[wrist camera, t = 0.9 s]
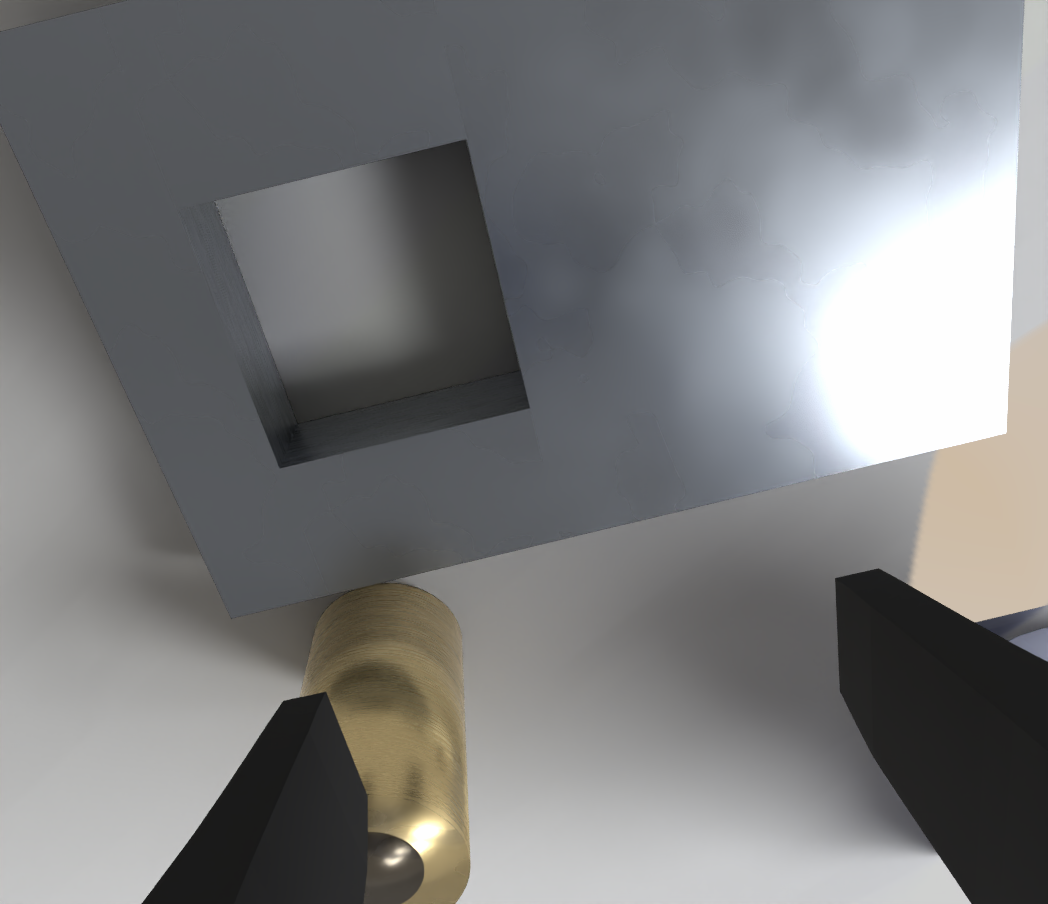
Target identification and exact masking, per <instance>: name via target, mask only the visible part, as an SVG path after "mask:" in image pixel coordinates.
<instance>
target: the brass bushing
mask: <svg viewBox="0 0 1048 904" xmlns="http://www.w3.org/2000/svg"><path fill="white" fill-rule="evenodd" d="M322 692H327V695H328V697H329V700H330V702H331V705H332V708H333V710H334V713H335V715H336V718H337V720H338V723H339V725H340V728H341V730H342V733H343V735H344V738H345V740H346V743H347V745H348V748H349V750H350V753H351V755H352V758H353V760H354V763H355V765H356V768H357V770H358V773H359V775H360V778H361V780H362V783H363V785H364V788H365V790H366V793H367V796H368V859H367V877H366V885H365V894H364V902H363V904H455V903H456V902H457V901H458V899H459V898H460V896H461V895H462V893H463V891H464V889H465V887H466V885H467V882H468V879H469V875H470V844H469V817H468V790H467V763H466V736H465V709H464V682H463V655H462V635H461V631H460V627H459V625H458V622H457V620H456V618H455V617H454V615H453V613H452V612H451V611H450V610H449V609H448V607H447V606H446V605H445V604H443V603H442V602H441V601H440V600H439V599H437V598H436V597H434V596H433V595H431V594H429V593H427V592H426V591H423V590H421V589H418V588H415V587H412V586H408V585H402V584H394V583H382V584H374V585H370V586H365V587H361V588H357V589H355V590H352V591H350V592H348V593H346V594H344V595H343V596H341V597H339V598H338V599H337V600H336V601H334V602H333V603H332V604H331V605H330V606H329V607H328V608H327V609H326V610H325V612H324V613H323V614H322V616H321V617H320V619H319V621H318V623H317V626H316V629H315V632H314V636H313V640H312V645H311V649H310V654H309V658H308V663H307V667H306V671H305V676H304V680H303V685H302V689H301V694H300V697H304V696H308V695H313V694H317V693H322Z"/></svg>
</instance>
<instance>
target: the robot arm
mask: <svg viewBox="0 0 1048 904" xmlns="http://www.w3.org/2000/svg"><path fill="white" fill-rule="evenodd" d="M835 584H836V608H837V632H838V655H839V679H840V692H841V694H842V696H843V698H844V700H845V702H846V704H847V706H848V708H849V710H850V712H851V714H852V716H853V718H854V720H855V722H856V725H857V727H858V728H859V730H860V732H861V734H862V736H863V738H864V740H865V742H866V744H867V746H868V748H869V750H870V751H871V753H872V755H873V757H874V759H875V760H876V762H877V763H878V765H879V766H880V768H881V769H882V771H883V773H884V774H885V776H886V777H887V779H888V780H889V782H890V783H891V785H892V786H893V788H894V789H895V791H896V792H897V794H898V795H899V797H900V798H901V800H902V801H903V803H904V804H905V806H906V807H907V809H908V810H909V812H910V813H911V815H912V816H913V818H914V819H915V821H916V822H917V823H918V825H919V826H920V828H921V829H922V831H923V832H924V834H925V835H926V837H927V838H928V840H929V841H930V843H931V844H932V846H933V847H934V849H935V850H936V852H937V853H938V855H939V856H940V858H941V859H942V861H943V862H944V864H945V865H946V866H947V868H948V869H949V871H950V872H951V874H952V875H953V877H954V878H955V880H956V881H957V883H958V884H959V886H960V887H961V889H962V890H963V892H964V893H965V895H966V896H967V898H968V899H969V901H970V902H971V904H1048V628H1042V629H1039V630H1036V631H1033V632H1030V633H1026V634H1023V635H1020V636H1018V637H1016V638H1014V639H1011V640H1009V641H1007V640H1005V639H1004V638H1002V637H1004V636H1005V635H1006V634H1008V633H1009V632H1011V631H1012V630H1014V629H1015V628H1016V627H1018V626H1020V625H1021V624H1023V623H1024V622H1025V621H1027V620H1028V619H1030V618H1031V617H1032V616H1033V615H1034V614H1035V613H1037V612H1038V611H1039V610H1041V609H1042V608H1043V607H1045V606H1042V607H1038V608H1034V609H1030V610H1025V611H1021V612H1017V613H1013V614H1008V615H1004V616H1000V617H996V618H992V619H987V620H983V621H979V622H975V623H974V622H972V621H971V620H969V619H967V618H965V617H964V616H962V615H960V614H958V613H957V612H955V611H953V610H951V609H950V608H948V607H946V606H944V605H942V604H941V603H939V602H937V601H935V600H934V599H932V598H930V597H928V596H927V595H925V594H923V593H921V592H920V591H918V590H916V589H914V588H913V587H911V586H909V585H908V584H906V583H904V582H902V581H900V580H899V579H897V578H895V577H893V576H891V575H890V574H888V573H886V572H884V571H882V570H880V569H874V570H870V571H865V572H861V573H856V574H852V575H848V576H843V577H839V578H835ZM367 859H368V796H367V793H366V790H365V788H364V785H363V783H362V780H361V778H360V775H359V773H358V770H357V768H356V765H355V763H354V760H353V758H352V755H351V753H350V750H349V748H348V745H347V743H346V740H345V738H344V735H343V733H342V730H341V728H340V725H339V723H338V720H337V718H336V715H335V713H334V710H333V708H332V705H331V702H330V700H329V697H328V695H327V692H322V693H317V694H313V695H308V696H304V697H299V698H295V699H290V700H286V701H283V702H282V704H281V705H280V707H279V708H278V710H277V711H276V713H275V714H274V716H273V717H272V718H271V720H270V721H269V723H268V724H267V726H266V727H265V729H264V730H263V732H262V733H261V735H260V736H259V738H258V739H257V741H256V742H255V744H254V746H253V747H252V749H251V750H250V752H249V753H248V755H247V756H246V758H245V759H244V761H243V762H242V764H241V765H240V767H239V768H238V770H237V771H236V773H235V774H234V776H233V777H232V779H231V780H230V782H229V783H228V785H227V786H226V788H225V789H224V791H223V792H222V794H221V795H220V797H219V798H218V800H217V801H216V802H215V804H214V805H213V807H212V808H211V810H210V811H209V813H208V814H207V816H206V817H205V818H204V820H203V821H202V823H201V824H200V826H199V827H198V829H197V830H196V832H195V833H194V834H193V836H192V837H191V839H190V840H189V841H188V843H187V844H186V845H185V847H184V848H183V849H182V851H181V852H180V853H179V855H178V856H177V857H176V859H175V860H174V861H173V863H172V864H171V865H170V867H169V868H168V869H167V871H166V872H165V873H164V875H163V876H162V877H161V879H160V880H159V881H158V883H157V884H156V885H155V887H154V888H153V889H152V891H151V892H150V893H149V895H148V896H147V897H146V899H145V900H144V901H143V903H142V904H363V902H364V894H365V885H366V877H367Z"/></svg>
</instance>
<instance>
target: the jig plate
mask: <svg viewBox="0 0 1048 904" xmlns="http://www.w3.org/2000/svg"><path fill="white" fill-rule="evenodd" d="M1023 22H1024V0H127V1H123V2H119V3H114V4H110V5H106V6H102V7H98V8H94V9H90V10H86V11H82V12H78V13H74V14H70V15H66V16H62V17H58V18H54V19H50V20H46V21H42V22H38V23H33V24H29V25H25V26H21V27H17V28H13V29H9V30H5V31H1V32H0V124H1V126H2V128H3V130H4V133H5V135H6V137H7V139H8V141H9V143H10V145H11V148H12V150H13V152H14V154H15V156H16V158H17V161H18V163H19V165H20V167H21V169H22V171H23V173H24V176H25V178H26V180H27V182H28V184H29V186H30V188H31V191H32V193H33V195H34V197H35V199H36V201H37V203H38V206H39V208H40V210H41V212H42V214H43V216H44V218H45V221H46V223H47V225H48V227H49V229H50V231H51V233H52V236H53V238H54V240H55V242H56V244H57V246H58V248H59V251H60V253H61V255H62V257H63V259H64V261H65V263H66V266H67V268H68V270H69V272H70V274H71V276H72V278H73V281H74V283H75V285H76V287H77V289H78V291H79V293H80V296H81V298H82V300H83V302H84V304H85V306H86V308H87V311H88V313H89V315H90V317H91V319H92V321H93V323H94V326H95V328H96V330H97V332H98V334H99V336H100V338H101V341H102V343H103V345H104V347H105V349H106V351H107V353H108V356H109V358H110V360H111V362H112V364H113V366H114V368H115V371H116V373H117V375H118V377H119V379H120V381H121V383H122V386H123V388H124V390H125V392H126V394H127V396H128V398H129V401H130V403H131V405H132V407H133V409H134V411H135V413H136V416H137V418H138V420H139V422H140V424H141V426H142V428H143V431H144V433H145V435H146V437H147V439H148V441H149V443H150V446H151V448H152V450H153V452H154V454H155V456H156V458H157V461H158V463H159V465H160V467H161V469H162V471H163V473H164V476H165V478H166V480H167V482H168V484H169V486H170V489H171V491H172V493H173V495H174V497H175V499H176V501H177V504H178V506H179V508H180V510H181V512H182V514H183V516H184V519H185V521H186V523H187V525H188V527H189V529H190V531H191V534H192V536H193V538H194V540H195V542H196V544H197V546H198V549H199V551H200V553H201V555H202V557H203V559H204V561H205V564H206V566H207V568H208V570H209V572H210V574H211V576H212V579H213V581H214V583H215V585H216V587H217V589H218V591H219V594H220V596H221V598H222V600H223V602H224V604H225V606H226V609H227V611H228V613H229V615H230V617H231V619H232V618H236V617H240V616H244V615H248V614H253V613H257V612H261V611H265V610H269V609H274V608H278V607H282V606H286V605H290V604H294V603H299V602H303V601H307V600H311V599H315V598H319V597H324V596H328V595H332V594H336V593H340V592H344V591H349V590H353V589H357V588H361V587H365V586H370V585H374V584H378V583H382V582H386V581H390V580H395V579H399V578H403V577H407V576H411V575H415V574H420V573H424V572H428V571H432V570H436V569H440V568H445V567H449V566H453V565H457V564H461V563H466V562H470V561H474V560H478V559H482V558H486V557H491V556H495V555H499V554H503V553H507V552H511V551H516V550H520V549H524V548H528V547H532V546H537V545H541V544H545V543H549V542H553V541H557V540H562V539H566V538H570V537H574V536H578V535H582V534H587V533H591V532H595V531H599V530H603V529H607V528H612V527H616V526H620V525H624V524H628V523H633V522H637V521H641V520H645V519H649V518H653V517H658V516H662V515H666V514H670V513H674V512H678V511H683V510H687V509H691V508H695V507H699V506H704V505H708V504H712V503H716V502H720V501H724V500H729V499H733V498H737V497H741V496H745V495H749V494H754V493H758V492H762V491H766V490H770V489H774V488H779V487H783V486H787V485H791V484H795V483H800V482H804V481H808V480H812V479H816V478H820V477H825V476H829V475H833V474H837V473H841V472H845V471H850V470H854V469H858V468H862V467H866V466H871V465H875V464H879V463H883V462H887V461H891V460H896V459H900V458H904V457H908V456H912V455H916V454H921V453H925V452H929V451H933V450H937V449H941V448H946V447H950V446H954V445H958V444H962V443H967V442H970V441H975V440H979V439H983V438H987V437H991V436H996V435H1000V434H1004V433H1006V423H1007V400H1008V376H1009V354H1010V330H1011V306H1012V283H1013V259H1014V235H1015V212H1016V188H1017V164H1018V141H1019V117H1020V93H1021V69H1022V46H1023ZM461 140H466V144H467V148H468V152H469V157H470V161H471V165H472V169H473V174H474V178H475V182H476V186H477V190H478V195H479V199H480V203H481V207H482V212H483V216H484V220H485V224H486V229H487V233H488V237H489V241H490V246H491V250H492V254H493V258H494V262H495V267H496V271H497V275H498V279H499V284H500V288H501V292H502V296H503V301H504V305H505V309H506V313H507V318H508V322H509V326H510V330H511V334H512V339H513V343H514V347H515V351H516V356H517V360H518V364H519V368H520V371H516V372H512V373H508V374H503V375H499V376H495V377H491V378H487V379H483V380H479V381H475V382H470V383H466V384H462V385H458V386H454V387H450V388H446V389H441V390H437V391H433V392H429V393H425V394H421V395H417V396H412V397H408V398H404V399H400V400H396V401H392V402H388V403H383V404H379V405H375V406H371V407H367V408H363V409H359V410H354V411H350V412H346V413H342V414H338V415H334V416H330V417H325V418H321V419H317V420H313V421H309V422H305V423H301V424H297V421H296V419H295V416H294V413H293V411H292V408H291V405H290V403H289V400H288V397H287V395H286V392H285V389H284V387H283V384H282V381H281V379H280V376H279V373H278V371H277V368H276V365H275V363H274V360H273V357H272V355H271V352H270V349H269V347H268V344H267V341H266V339H265V336H264V333H263V331H262V328H261V325H260V323H259V320H258V317H257V314H256V312H255V309H254V306H253V304H252V301H251V298H250V296H249V293H248V290H247V288H246V285H245V282H244V280H243V277H242V274H241V272H240V269H239V266H238V264H237V261H236V258H235V256H234V253H233V250H232V248H231V245H230V242H229V240H228V237H227V234H226V232H225V229H224V226H223V224H222V221H221V218H220V216H219V213H218V210H217V208H216V205H215V202H214V201H216V200H220V199H224V198H228V197H232V196H236V195H240V194H244V193H248V192H252V191H257V190H261V189H265V188H269V187H273V186H277V185H281V184H285V183H289V182H293V181H297V180H302V179H306V178H310V177H314V176H318V175H322V174H326V173H330V172H334V171H338V170H342V169H347V168H351V167H355V166H359V165H363V164H367V163H371V162H375V161H379V160H383V159H387V158H392V157H396V156H400V155H404V154H408V153H412V152H416V151H420V150H424V149H428V148H433V147H437V146H441V145H445V144H449V143H453V142H457V141H461Z"/></svg>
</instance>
